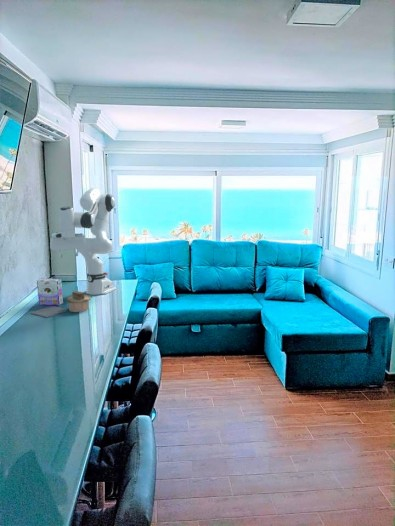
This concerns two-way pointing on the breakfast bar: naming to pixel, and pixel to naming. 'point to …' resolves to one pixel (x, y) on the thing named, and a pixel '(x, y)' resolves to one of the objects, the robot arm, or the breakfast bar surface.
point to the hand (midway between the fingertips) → (68, 256)
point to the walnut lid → (78, 297)
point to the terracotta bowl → (78, 306)
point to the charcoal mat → (49, 311)
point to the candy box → (50, 291)
